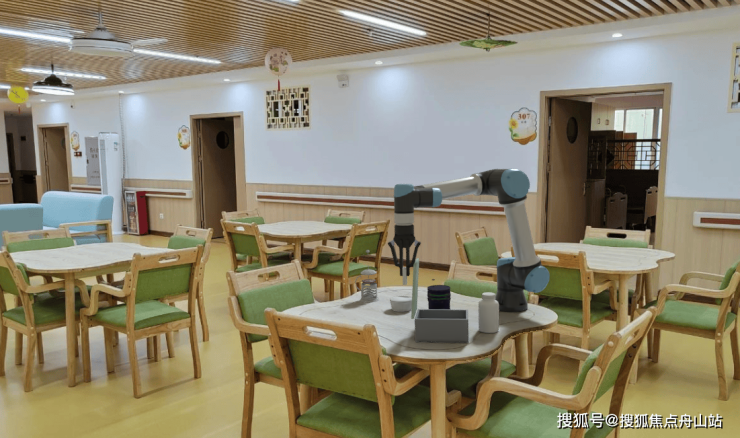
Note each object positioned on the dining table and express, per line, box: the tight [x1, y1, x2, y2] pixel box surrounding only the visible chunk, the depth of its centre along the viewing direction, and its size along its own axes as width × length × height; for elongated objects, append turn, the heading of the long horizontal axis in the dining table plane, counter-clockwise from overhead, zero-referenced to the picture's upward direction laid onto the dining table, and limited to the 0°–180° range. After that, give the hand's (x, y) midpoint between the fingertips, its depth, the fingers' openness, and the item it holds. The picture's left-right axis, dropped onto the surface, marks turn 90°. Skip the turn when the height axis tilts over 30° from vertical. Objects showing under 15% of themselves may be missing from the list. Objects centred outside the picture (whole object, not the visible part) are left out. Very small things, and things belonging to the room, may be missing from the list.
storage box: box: [414, 308, 470, 344], centre depth 227 cm, size 20×14×9 cm
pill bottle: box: [477, 291, 500, 334], centre depth 232 cm, size 8×8×15 cm
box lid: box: [410, 257, 420, 320], centre depth 227 cm, size 21×15×1 cm
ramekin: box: [389, 295, 412, 313], centre depth 269 cm, size 11×11×5 cm
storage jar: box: [426, 278, 452, 309], centre depth 246 cm, size 10×10×18 cm
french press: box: [354, 249, 380, 303], centre depth 288 cm, size 10×12×25 cm
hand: (404, 284), depth 227 cm, fingers closed
